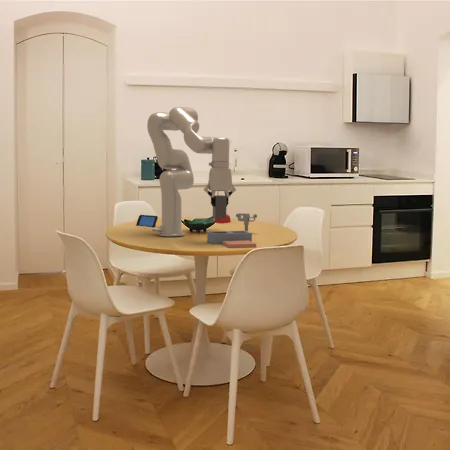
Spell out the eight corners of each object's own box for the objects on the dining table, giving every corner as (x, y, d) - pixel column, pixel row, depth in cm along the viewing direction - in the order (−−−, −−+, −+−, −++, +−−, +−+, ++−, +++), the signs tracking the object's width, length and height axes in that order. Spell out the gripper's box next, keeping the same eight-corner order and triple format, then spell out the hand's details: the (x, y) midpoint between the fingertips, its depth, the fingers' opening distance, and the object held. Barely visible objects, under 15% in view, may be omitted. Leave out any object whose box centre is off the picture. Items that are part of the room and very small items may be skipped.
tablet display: (128, 229, 342) (128, 216, 341) (139, 227, 351) (139, 214, 351) (147, 230, 337) (147, 217, 336) (158, 228, 346) (158, 215, 345)
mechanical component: (255, 234, 325) (256, 214, 324) (235, 233, 327) (235, 213, 326) (256, 233, 328) (257, 213, 327) (236, 232, 330) (236, 213, 329)
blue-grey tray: (212, 244, 287) (212, 233, 286) (207, 241, 296) (207, 231, 296) (251, 243, 291) (251, 233, 291) (245, 240, 301) (245, 230, 301)
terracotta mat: (229, 247, 275) (229, 244, 275) (222, 244, 286) (222, 241, 286) (256, 247, 278) (256, 243, 278) (248, 243, 289) (248, 240, 289)
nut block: (215, 218, 289) (215, 195, 288) (212, 217, 294) (213, 195, 292) (226, 218, 290) (226, 195, 289) (223, 217, 295) (223, 195, 294)
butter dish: (222, 226, 360) (222, 211, 359) (206, 225, 367) (206, 210, 366) (235, 225, 369) (235, 210, 368) (219, 223, 376) (219, 209, 375)
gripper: (203, 165, 283) (202, 207, 286) (241, 165, 288) (240, 206, 290) (199, 164, 291) (199, 205, 293) (236, 165, 295) (235, 205, 297)
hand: (219, 205), depth 291 cm, fingers closed on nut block, 5 cm apart
